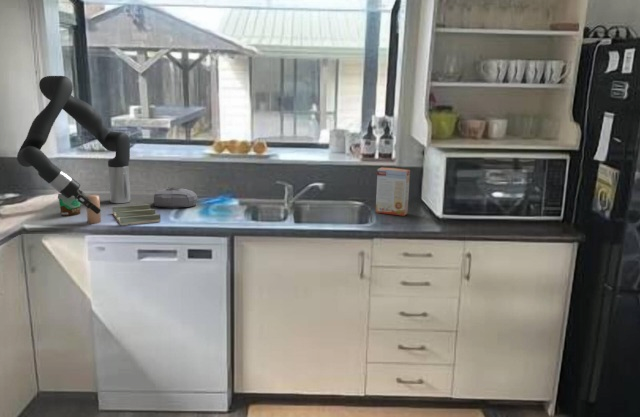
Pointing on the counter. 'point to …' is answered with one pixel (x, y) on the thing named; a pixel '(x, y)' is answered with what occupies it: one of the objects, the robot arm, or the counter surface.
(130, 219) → the comb board
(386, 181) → the cracker box
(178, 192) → the soft grey pack
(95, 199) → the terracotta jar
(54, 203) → the counter surface
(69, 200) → the food container
